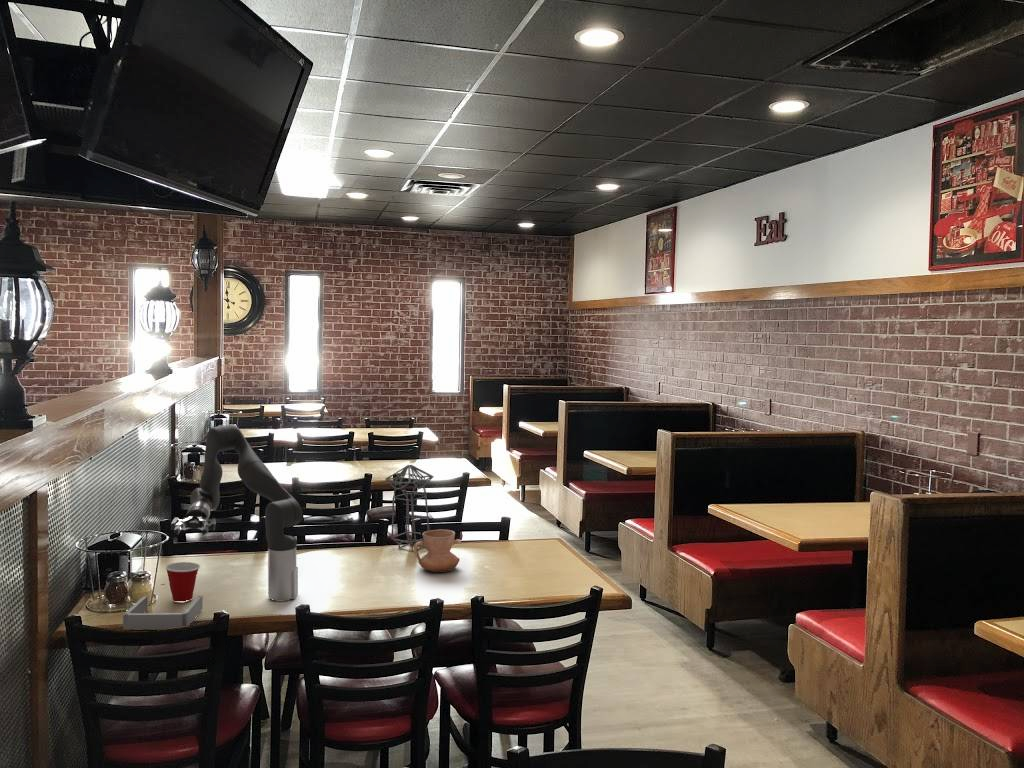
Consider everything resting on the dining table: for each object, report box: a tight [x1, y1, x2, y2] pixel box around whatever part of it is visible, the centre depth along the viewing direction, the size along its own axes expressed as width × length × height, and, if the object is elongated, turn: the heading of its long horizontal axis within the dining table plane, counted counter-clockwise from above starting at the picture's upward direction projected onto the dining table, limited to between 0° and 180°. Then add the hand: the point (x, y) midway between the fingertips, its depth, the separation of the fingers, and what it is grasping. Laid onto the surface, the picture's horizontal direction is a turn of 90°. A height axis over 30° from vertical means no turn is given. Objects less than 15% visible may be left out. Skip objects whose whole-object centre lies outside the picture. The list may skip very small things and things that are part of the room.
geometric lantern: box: [384, 464, 435, 552], centre depth 329 cm, size 16×16×35 cm
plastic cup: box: [164, 561, 201, 602], centre depth 265 cm, size 11×11×12 cm
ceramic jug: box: [413, 529, 462, 573], centre depth 302 cm, size 18×14×14 cm
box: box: [122, 595, 204, 630], centre depth 247 cm, size 18×16×5 cm
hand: (190, 532), depth 273 cm, fingers open, 8 cm apart
